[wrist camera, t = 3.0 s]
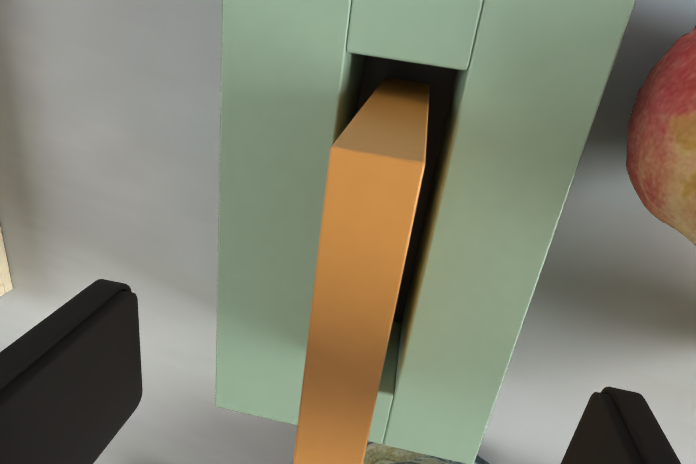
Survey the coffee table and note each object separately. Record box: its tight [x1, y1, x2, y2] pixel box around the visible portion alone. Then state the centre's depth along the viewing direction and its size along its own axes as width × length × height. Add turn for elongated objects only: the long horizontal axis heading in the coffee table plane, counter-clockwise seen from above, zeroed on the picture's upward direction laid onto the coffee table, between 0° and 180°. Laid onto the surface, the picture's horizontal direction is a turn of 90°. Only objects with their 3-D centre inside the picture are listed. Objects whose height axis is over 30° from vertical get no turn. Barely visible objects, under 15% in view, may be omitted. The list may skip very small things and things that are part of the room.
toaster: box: [215, 0, 636, 464], centre depth 17 cm, size 17×10×5 cm, turn 173°
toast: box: [293, 77, 430, 464], centre depth 14 cm, size 9×2×10 cm, turn 173°
